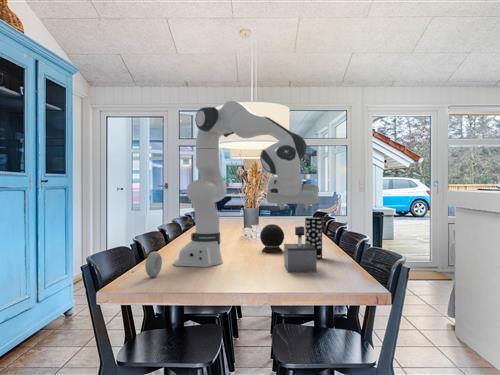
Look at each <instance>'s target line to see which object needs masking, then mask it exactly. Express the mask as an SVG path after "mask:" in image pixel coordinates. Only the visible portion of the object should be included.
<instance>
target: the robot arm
mask: <svg viewBox="0 0 500 375" xmlns="http://www.w3.org/2000/svg"><path fill="white" fill-rule="evenodd" d="M194 119H195V120H194V121H195V125H196V128H197V130H198V131H197V135H196V139H195V140H196V141H195V167H196V169H197V170H198V173H199V176H200V178H199V179H196V180H195V179H194V180H193V181H191V182H189V184H188V185H187V188H186V195H187V198H188V199H189V201H190V202H191V204H192V207H193V208H192V209H193V212H194V215H195V216H194V218H195V232H191V234H190V241H189V242H188V243H187V244H186V245H184V246H182V248H181V249H180V250H179V254H178V258H176V259H174V261H173V265H174V266H176V267H200V268H201V267H203V268H208V267H212V266H218V265H221V264H223V263H224V261H223V258H222V252H221V232H220V215H219V212H218V211H217V208H216V205H215V203H217V202H220V201H222V200H223V199H225V197H226V195H227V186H226V185H225V183H224V180H223V176H222V172H221V171H222V170H221V165H220V163H221V162H220V160H221V159H220V154H221V153H220V152H221V151H220V149H221V148H220V141H221V140H220V139H221V138H222V136H223V137H224V138H228V137H229V136H232V135H234V134H235V135H236V136H237V137H240V138H242V139H251V138H255V137H259V136H266V135H267V136H272V138H275V139H276V140H278V141H276V142H273V143H272V144H270V145H268V146H267V147H265V148H263V149H262V150H261V152H260V154H259V156H260V157H259V159H260V162H261V165H262V168H263V169H264V170H265V171H266V172H268V173H270V174H271V175H275V176H273V177H270V178H269V181H268V182H267V183H268V184H267V190H266V201H267V203H269V204H276V205H277V206H278V207H279V209H280V211H282V210H283V211H285V204H287V205H288V204H289V205H303V211H306V212H307V211H308V208H309V207H310V205H318V204H319V198H320V197H319V196H320V195H319V191H320V189H319V186H318V185H316V184H313V183H310V184H309V183H308V184H307V183H303V177H302V174H301V170H302V169H301V168H302V167H301V162H300V160H301V159H303V158H305V155H306V152H307V150H308V145H307V143H306V141H305V139H304V138H303V137H302V136H301V135H299V134H297V133H295V132H292V131H290V130H288V129H287V128H286V127H284V126H283V125H281V124H280V123H278V122H277V121H275V120H274V119H272V118H270V117H267V116H264V115H258V114H255V113H253V112H252V111H250V110H249V109H248V108H247V107H246V106H245V105H243V104H242V103H240V102H239V101H237V100H232V99H231V100H229V101H226V102H225V103H224V104H223V105H222V106H221V108H217V107H212V106H208V107H207V106H206V107H202V108H201V107H200V109H198V111H197V112H196V114H195V118H194Z"/></svg>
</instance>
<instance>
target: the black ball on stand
mask: <svg viewBox="0 0 500 375" xmlns="http://www.w3.org/2000/svg"><path fill="white" fill-rule="evenodd" d="M259 237H260V241H261V243H262V245H263V246H264V247H263V248H262V249H261V252H262V253H264V254H281V253H282V254H283V249H282V248H281V247H280V246H281V245H282V244H283V242H284V239H285V234H284V230H283V229H282V227H280V226H279V225H278V224H274V223H272V224H271V223H270V224H267V225H265V226H264V227H263V228H262V229H261V231H260V235H259Z"/></svg>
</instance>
